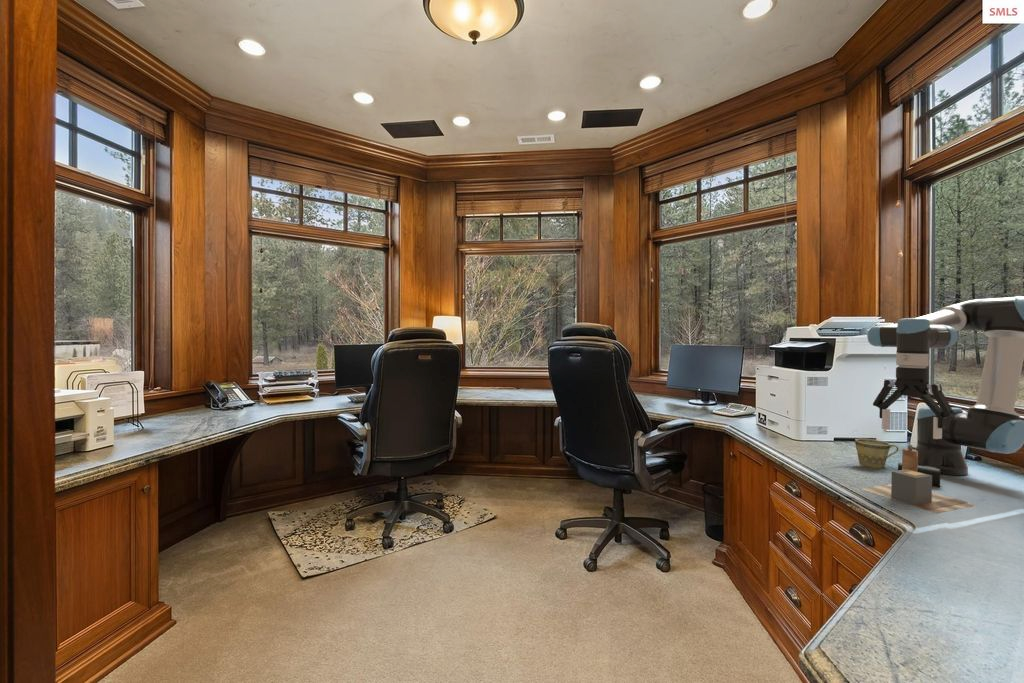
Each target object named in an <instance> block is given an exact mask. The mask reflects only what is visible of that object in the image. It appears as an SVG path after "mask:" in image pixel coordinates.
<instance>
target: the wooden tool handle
mask: <svg viewBox="0 0 1024 683" xmlns="http://www.w3.org/2000/svg"><path fill="white" fill-rule="evenodd" d="M901 451H902V452H901V453H902V454H901V457H902V458H901V460H902V461H901V463H902V470H905V469H909V470H913V471H916V472H918V451H916V450H915V449H913V445H912V444H908V446H907V448H902V450H901Z"/></svg>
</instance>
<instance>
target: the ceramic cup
mask: <svg viewBox="0 0 1024 683" xmlns="http://www.w3.org/2000/svg"><path fill="white" fill-rule="evenodd" d="M854 441H855V443H854V444H855V448H856V452H857V453H856V454H857V458H858V464H859V467H860V466H861V467H868V468H873V469H884V468H885V466H886V462H887V459H888V458H890V457H891V456H892V455H894V454H896V453H897V452H899V447H898V446H897V445H895V444H890V443H889V442H887V441H884V440H879V439H874V438H873V439H870V438H855V439H854ZM893 447H895V448H896V450H895V451H894V452H891V453H890V454H889V452H890V449H891V448H893Z"/></svg>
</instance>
